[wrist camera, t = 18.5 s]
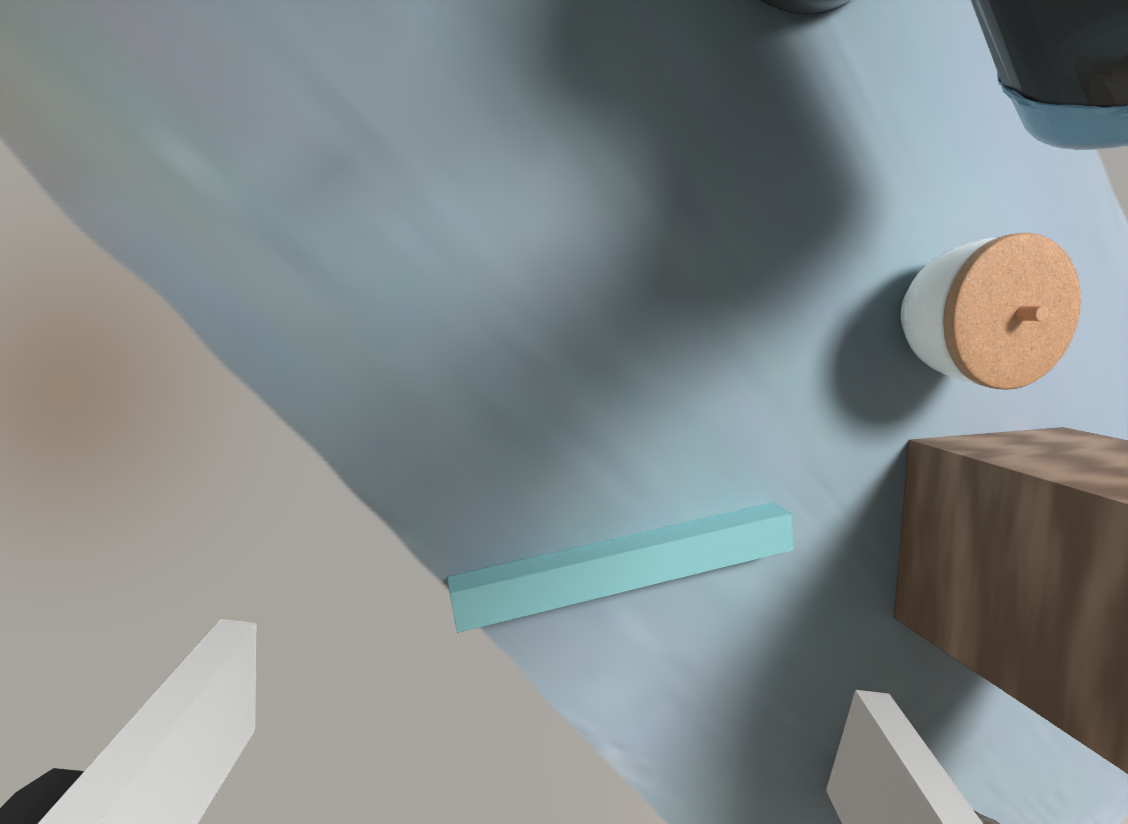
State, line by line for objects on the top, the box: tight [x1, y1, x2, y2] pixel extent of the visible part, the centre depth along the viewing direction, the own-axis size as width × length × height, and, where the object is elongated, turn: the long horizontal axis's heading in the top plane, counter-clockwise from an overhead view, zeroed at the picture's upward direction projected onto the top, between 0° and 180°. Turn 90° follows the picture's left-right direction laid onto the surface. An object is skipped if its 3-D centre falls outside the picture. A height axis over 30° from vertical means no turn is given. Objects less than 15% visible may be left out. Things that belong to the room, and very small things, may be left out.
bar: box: [447, 502, 794, 633], centre depth 48 cm, size 26×3×3 cm, turn 97°
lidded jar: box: [900, 233, 1081, 390], centre depth 48 cm, size 11×11×9 cm
